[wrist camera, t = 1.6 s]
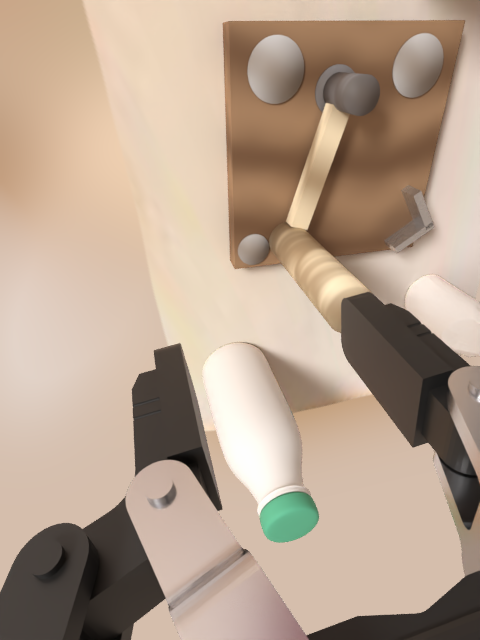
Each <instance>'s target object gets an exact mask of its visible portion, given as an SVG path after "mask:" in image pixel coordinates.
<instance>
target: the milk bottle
mask: <svg viewBox="0 0 480 640" xmlns="http://www.w3.org/2000/svg"><path fill="white" fill-rule="evenodd" d="M202 377H203V382H204V387H205V390H206V394H207V398H208V402H209V406H210V409H211V413H212V417H213V421H214V424H215V428H216V432H217V435H218V439H219V442H220V445H221V448H222V451H223V455H224V457H225V459H226V461H227V464H228V465H229V467H230V469H231V470H232V472H233V473H234V475H235V476H236V477H237V478H238V479H239V480H240V481H241V482H242V483H243V484H244V485H245V486H246V487H247V488H248V490H249V491H250V492H251V493H252V495H253V496H254V498H255V499H256V501H257V503H258V508H257V513H258V515H259V516H260V522H261V526H262V529H263V532H264V534H265V536H266V537H267V538H268V539H269V540H271V541H274V542H289V541H293V540H296V539H298V538H300V537H302V536H304V535H306V534H307V533H308V532H310V531H311V530H312V529H313V528H314V527H315V525H316V524H317V522H318V519H319V514H318V510H317V507H316V505H315V503H314V501H313V499H312V497H311V494H310V491H309V490H308V489H307V488H305V487H304V485H303V479H302V467H301V465H302V442H301V437H300V432H299V429H298V426H297V424H296V421H295V419H294V416H293V414H292V412H291V410H290V407H289V405H288V403H287V401H286V399H285V397H284V395H283V393H282V390H281V388H280V386H279V384H278V382H277V380H276V378H275V376H274V374H273V372H272V370H271V368H270V366H269V364H268V362H267V360H266V358H265V356H264V354H263V353H262V352H261V351H260V350H259V349H258V348H257V347H255V346H253V345H251V344H247V343H241V342H237V343H231V344H227V345H224V346H222V347H220V348H218V349H217V350H215V351H214V352H213V353H212V354H211V355H210V356H209V357H208V358H207V360H206V362H205V364H204V367H203V371H202Z"/></svg>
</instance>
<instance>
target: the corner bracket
mask: <svg viewBox="0 0 480 640" xmlns="http://www.w3.org/2000/svg"><path fill="white" fill-rule="evenodd" d="M401 191H402V194H403V196H404V199H405V201H406V204H407V207H408V209H409V212H410V214H411V217H412V219H413V220H412V221H411V222H409V223H408V224H406V225H405V226H404V227H402V228H401V229H399V230H398V231H397V232H395V233H394V234H392V235H391V236H390V237H388V238H387V239H385V240H384V242H385V244H386V246H388V247H389V248H391V249H392V250H393V251H395V252H396V253H398V252H400V251H401V250H403V249H404V248H405V247H407V246H408V245H410V244H411V243H413V242H414V241H415V240H417V239H418V238H420V237H421V236H423V235H424V234H425V233H427V232H428V231H430V230H431V229H433V228H434V224H433V222H432V219H431V217H430V214H429V211H428V208H427V206H426V203H425V200H424V197H423V194H422V192H421V191H420V190H418V189H416V188H414V187H412V186H409V185H408V186H406V187H405V188H404V189H402V190H401Z"/></svg>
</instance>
